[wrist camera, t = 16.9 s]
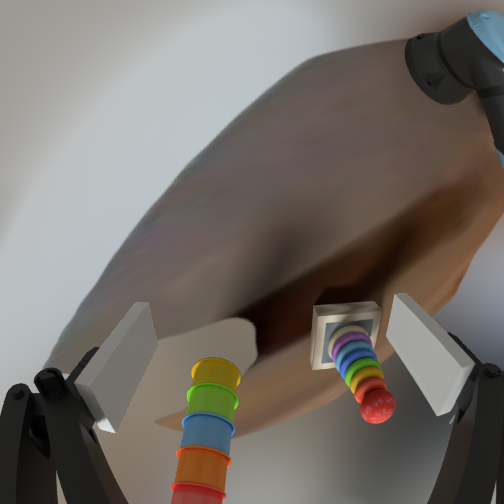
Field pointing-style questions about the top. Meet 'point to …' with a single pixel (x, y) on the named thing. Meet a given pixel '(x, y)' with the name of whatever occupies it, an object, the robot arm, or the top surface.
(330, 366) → the plinth
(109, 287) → the top surface
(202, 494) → the stacking cups
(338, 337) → the stacking toy
